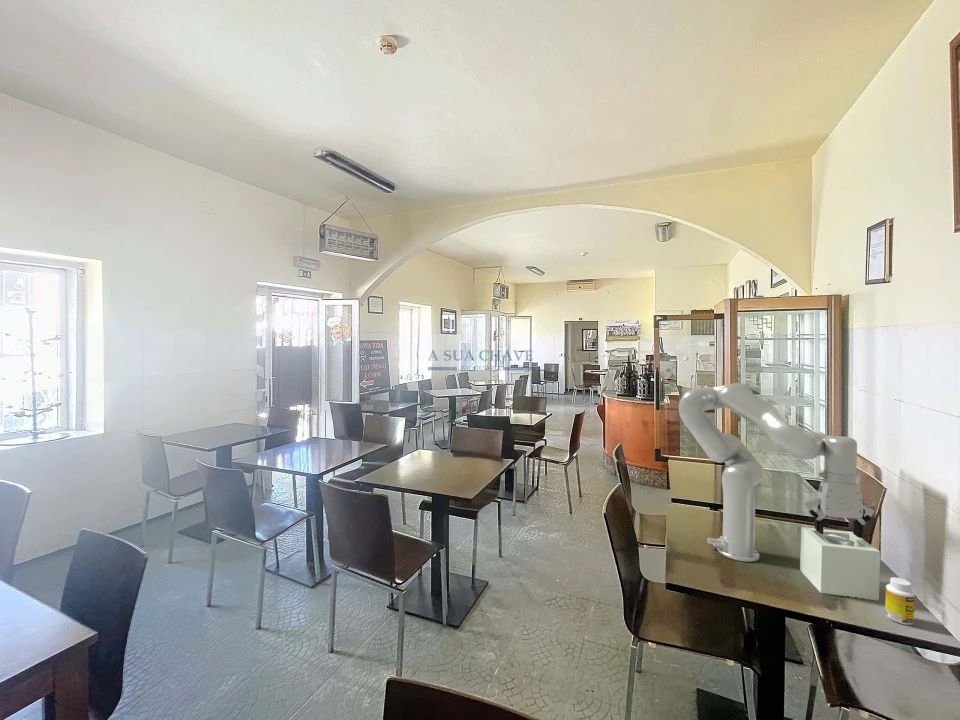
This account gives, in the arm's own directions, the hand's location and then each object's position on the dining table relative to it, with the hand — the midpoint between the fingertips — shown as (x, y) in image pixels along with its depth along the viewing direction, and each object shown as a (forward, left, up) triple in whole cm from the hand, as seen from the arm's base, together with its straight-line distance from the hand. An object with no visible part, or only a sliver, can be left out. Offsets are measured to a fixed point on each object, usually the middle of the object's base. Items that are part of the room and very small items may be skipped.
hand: (838, 534), depth 133 cm
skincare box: (0, 0, -13) cm, 14 cm away
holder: (0, 0, -15) cm, 15 cm away
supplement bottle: (+7, -16, -15) cm, 23 cm away
